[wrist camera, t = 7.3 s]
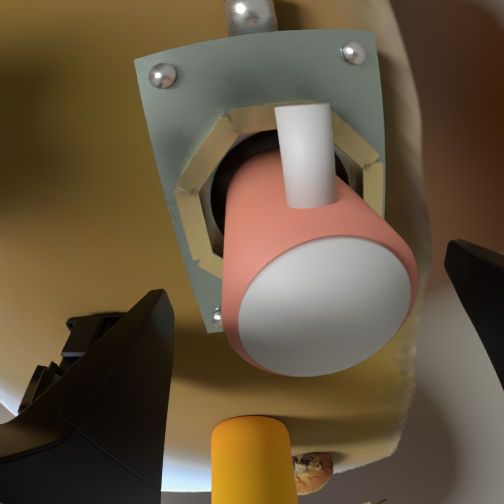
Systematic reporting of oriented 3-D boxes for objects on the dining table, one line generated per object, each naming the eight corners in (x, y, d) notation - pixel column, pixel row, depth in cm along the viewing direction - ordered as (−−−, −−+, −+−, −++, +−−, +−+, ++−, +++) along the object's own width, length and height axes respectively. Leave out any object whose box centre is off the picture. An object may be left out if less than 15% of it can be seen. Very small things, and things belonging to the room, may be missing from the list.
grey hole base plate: (361, 278, 21) (384, 319, 17) (210, 303, 21) (206, 350, 17) (342, -6, 11) (375, -30, 7) (143, 18, 12) (114, -2, 8)
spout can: (335, 239, 15) (404, 361, 8) (236, 255, 16) (242, 395, 8) (325, 93, 12) (441, 108, 4) (207, 108, 12) (167, 133, 5)
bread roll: (266, 451, 44) (263, 491, 39) (286, 454, 35) (283, 502, 31) (317, 449, 45) (316, 487, 41) (345, 450, 37) (344, 495, 33)
